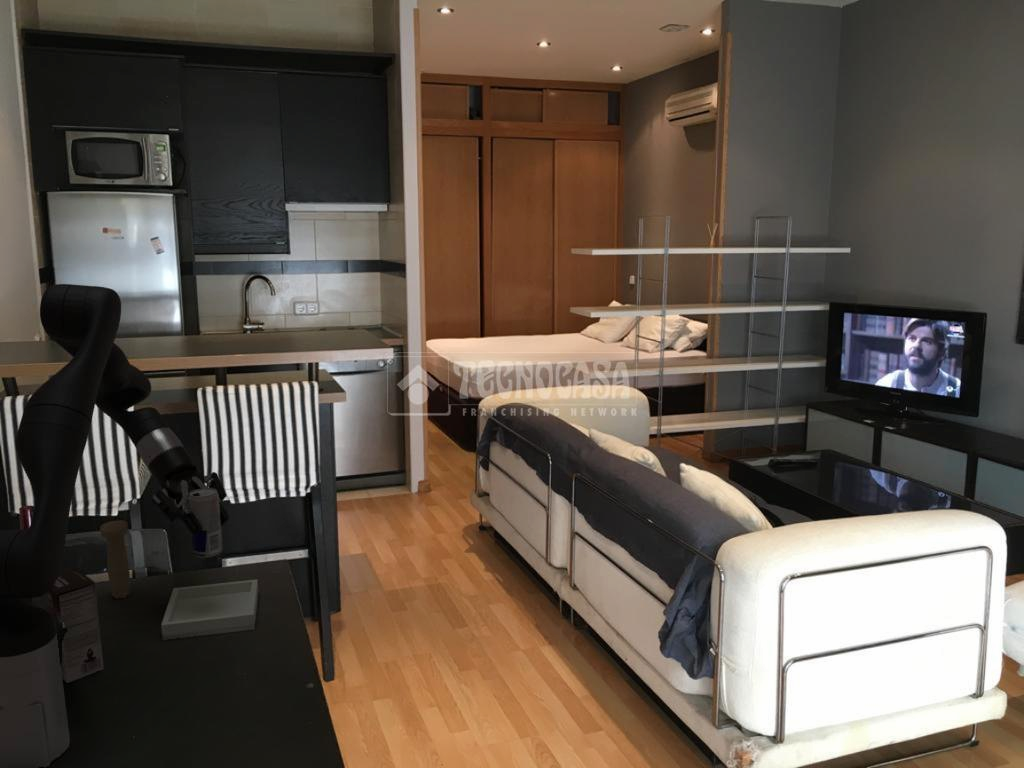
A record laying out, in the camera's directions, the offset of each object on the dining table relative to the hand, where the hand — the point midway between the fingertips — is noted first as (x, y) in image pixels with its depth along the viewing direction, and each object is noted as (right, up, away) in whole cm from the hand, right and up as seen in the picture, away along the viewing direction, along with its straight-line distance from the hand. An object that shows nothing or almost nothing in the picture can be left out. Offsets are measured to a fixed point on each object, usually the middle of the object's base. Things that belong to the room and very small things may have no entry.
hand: (212, 527), depth 157 cm
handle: (-23, -16, +13) cm, 31 cm away
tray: (-1, -18, +4) cm, 18 cm away
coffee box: (-18, -22, -14) cm, 32 cm away
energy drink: (-2, -5, +2) cm, 6 cm away
